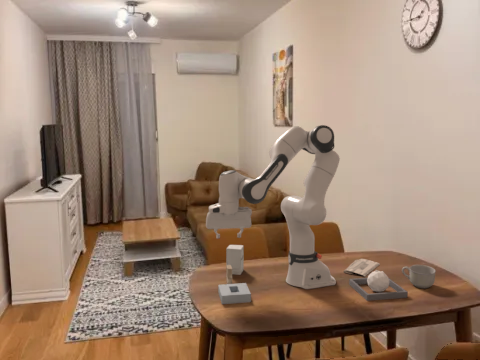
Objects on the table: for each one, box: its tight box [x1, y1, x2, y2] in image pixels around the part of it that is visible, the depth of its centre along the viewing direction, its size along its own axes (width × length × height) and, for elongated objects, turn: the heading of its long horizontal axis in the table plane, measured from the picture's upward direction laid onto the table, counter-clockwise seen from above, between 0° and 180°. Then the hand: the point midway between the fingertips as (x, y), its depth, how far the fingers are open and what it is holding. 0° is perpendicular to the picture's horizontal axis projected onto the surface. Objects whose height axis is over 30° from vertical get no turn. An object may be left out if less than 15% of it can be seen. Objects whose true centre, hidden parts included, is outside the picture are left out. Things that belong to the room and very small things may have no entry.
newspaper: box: [343, 258, 381, 278], centre depth 218 cm, size 23×12×2 cm, turn 144°
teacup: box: [401, 264, 437, 289], centre depth 196 cm, size 14×11×8 cm
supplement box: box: [225, 244, 245, 276], centre depth 213 cm, size 7×7×13 cm
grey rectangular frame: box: [348, 277, 409, 302], centre depth 190 cm, size 18×18×2 cm
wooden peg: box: [225, 264, 233, 284], centre depth 198 cm, size 2×5×8 cm, turn 9°
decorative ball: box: [367, 269, 390, 293], centre depth 190 cm, size 9×10×12 cm
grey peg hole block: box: [217, 282, 252, 305], centre depth 184 cm, size 12×12×4 cm
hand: (228, 237), depth 196 cm, fingers open, 8 cm apart
